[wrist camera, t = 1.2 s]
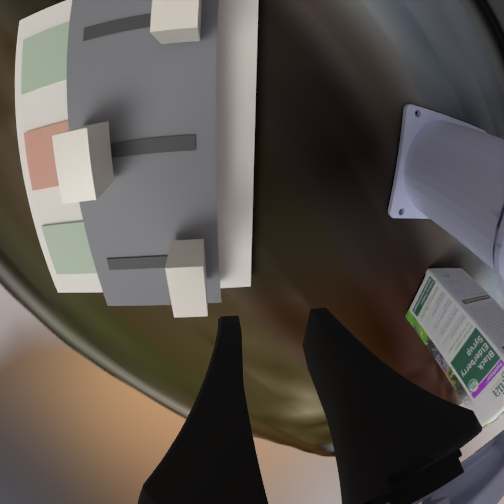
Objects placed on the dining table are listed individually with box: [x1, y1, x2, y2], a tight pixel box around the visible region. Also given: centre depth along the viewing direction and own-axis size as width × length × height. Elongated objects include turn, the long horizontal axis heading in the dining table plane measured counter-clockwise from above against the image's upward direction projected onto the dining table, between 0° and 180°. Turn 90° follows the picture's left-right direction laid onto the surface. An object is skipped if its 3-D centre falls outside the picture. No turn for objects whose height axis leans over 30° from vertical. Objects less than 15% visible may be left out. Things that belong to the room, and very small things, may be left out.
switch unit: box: [15, 0, 258, 306], centre depth 12 cm, size 14×19×3 cm
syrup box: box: [406, 268, 504, 428], centre depth 17 cm, size 6×6×14 cm
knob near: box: [150, 0, 202, 44], centre depth 7 cm, size 2×3×2 cm, turn 179°
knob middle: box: [52, 121, 114, 204], centre depth 10 cm, size 2×3×2 cm, turn 179°
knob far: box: [165, 239, 208, 317], centre depth 13 cm, size 2×3×2 cm, turn 0°
